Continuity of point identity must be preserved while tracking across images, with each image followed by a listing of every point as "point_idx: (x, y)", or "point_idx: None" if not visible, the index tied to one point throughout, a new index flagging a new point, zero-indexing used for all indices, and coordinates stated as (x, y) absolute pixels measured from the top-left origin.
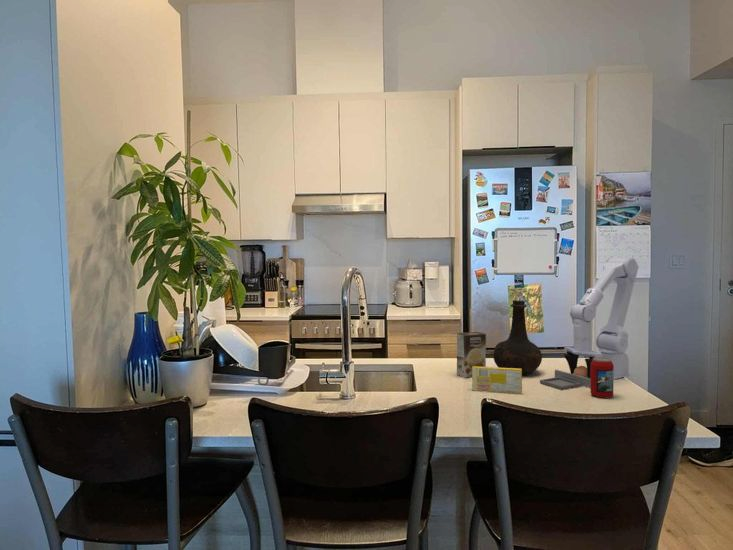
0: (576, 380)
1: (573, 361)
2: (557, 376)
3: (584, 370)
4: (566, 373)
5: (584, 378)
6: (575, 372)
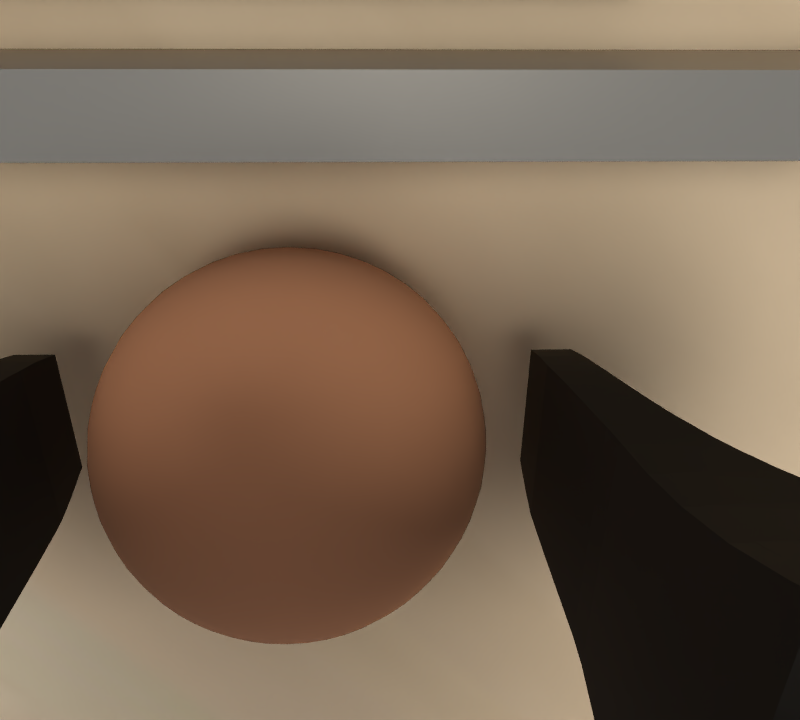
0: (116, 54)
1: (629, 622)
2: (765, 54)
3: (106, 448)
4: (481, 67)
5: None
6: (320, 282)
